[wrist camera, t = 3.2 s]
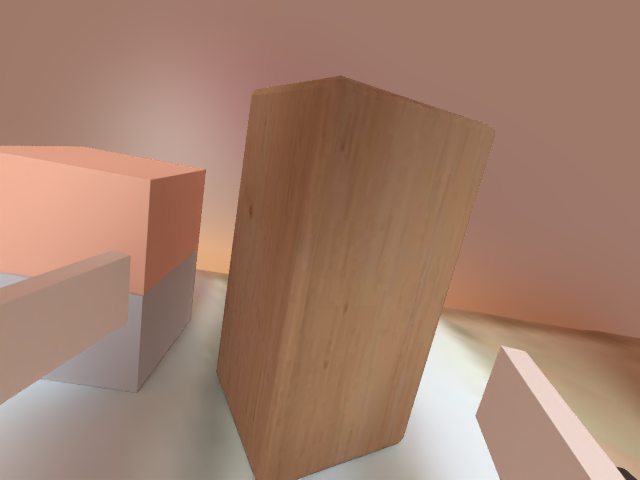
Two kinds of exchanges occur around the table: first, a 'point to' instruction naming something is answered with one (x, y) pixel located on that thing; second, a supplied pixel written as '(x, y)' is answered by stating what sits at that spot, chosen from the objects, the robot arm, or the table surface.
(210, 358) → the table surface
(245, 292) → the wooden block
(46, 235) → the tower top
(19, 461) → the table surface
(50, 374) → the tower base
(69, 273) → the robot arm
